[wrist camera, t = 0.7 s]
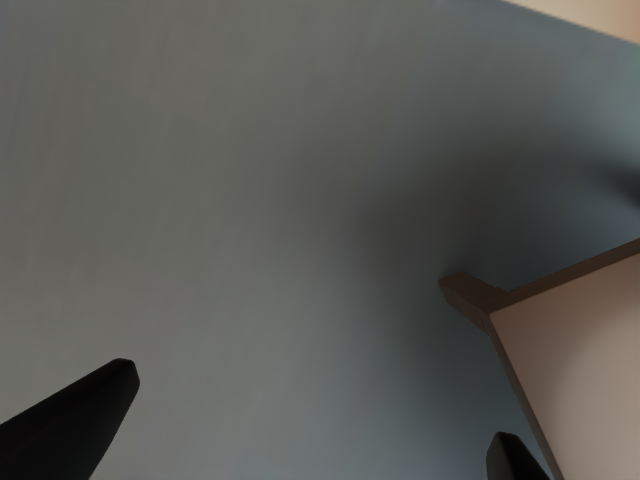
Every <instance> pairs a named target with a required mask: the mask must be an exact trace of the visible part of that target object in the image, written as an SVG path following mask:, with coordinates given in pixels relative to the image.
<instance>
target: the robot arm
mask: <svg viewBox="0 0 640 480" xmlns="http://www.w3.org/2000/svg"><path fill="white" fill-rule="evenodd" d="M139 386H140V380H139V376H138V373H137V370H136V367H135V364H134V362H133V361H132V360H128V359H122V358H117V359H114V360H112V361H111V362H109V363H107V364H105V365H104V366H102V367H100V368H98V369H97V370H95V371H93V372H91V373H90V374H88V375H86V376H84V377H83V378H81V379H79V380H77V381H76V382H74V383H72V384H70V385H69V386H67V387H65V388H63V389H62V390H60V391H58V392H57V393H55V394H53V395H51V396H50V397H48V398H46V399H44V400H43V401H41V402H39V403H37V404H36V405H34V406H32V407H30V408H29V409H27V410H25V411H23V412H22V413H20V414H18V415H16V416H15V417H13V418H11V419H9V420H8V421H6V422H4V423H2V424H1V425H0V480H89V478H90V476H91V475H92V473H93V472H94V470H95V469H96V467H97V465H98V464H99V462H100V461H101V459H102V457H103V456H104V454H105V453H106V451H107V449H108V447H109V446H110V444H111V442H112V440H113V438H114V436H115V434H116V433H117V431H118V429H119V427H120V425H121V423H122V421H123V419H124V417H125V415H126V413H127V411H128V409H129V407H130V405H131V404H132V402H133V400H134V398H135V396H136V394H137V392H138V389H139ZM486 465H487V475H488V480H550V478H549V477H548V476H547V474H546V473H545V471H544V470H543V469H542V467H541V466H540V465H539V463H538V462H537V461H536V459H535V458H534V457H533V455H532V454H531V453H530V451H529V450H528V449H527V447H526V446H525V445H524V443H523V442H522V441H521V439H520V438H519V437H518V436H516V435H514V434H510V433H505V432H497V433H496V434H495V436H494V438H493V440H492V442H491V445H490V447H489V449H488V452H487V456H486Z"/></svg>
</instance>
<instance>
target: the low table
mask: <svg viewBox="0 0 640 480" xmlns="http://www.w3.org/2000/svg"><path fill="white" fill-rule="evenodd" d="M438 283H439V285H440V287H441V289H442V291H443V294H444V296H445V298H446V300H447V302H448V303H449V304H450V305H452V306H453V307H454V308H455V309H456V310H458V311H459V312H460V313H461V314H462V315H464V316H465V317H466V318H467V319H468V320H470V321H471V322H472V323H473V324H474V325H476V326H477V327H478V328H479V329H480V330H482V331H483V332H484V333H485V334H486V335H488V336H489V337H490V340H491V342H492V344H493V346H494V348H495V351H496V353H497V355H498V357H499V359H500V361H501V364H502V366H503V368H504V370H505V372H506V374H507V377H508V379H509V381H510V383H511V385H512V388H513V390H514V392H515V394H516V396H517V398H518V401H519V403H520V405H521V407H522V409H523V411H524V414H525V416H526V418H527V420H528V422H529V425H530V427H531V429H532V431H533V433H534V435H535V438H536V440H537V442H538V444H539V446H540V448H541V451H542V453H543V455H544V457H545V459H546V462H547V464H548V466H549V468H550V470H551V472H552V475H553V477H554V479H555V480H640V238H638V239H636V240H633V241H631V242H628V243H626V244H624V245H621V246H619V247H616V248H614V249H611V250H609V251H607V252H604V253H602V254H599V255H597V256H594V257H592V258H590V259H587V260H585V261H582V262H580V263H578V264H575V265H573V266H570V267H568V268H565V269H563V270H561V271H558V272H556V273H553V274H551V275H548V276H546V277H544V278H541V279H539V280H536V281H534V282H531V283H529V284H527V285H524V286H522V287H519V288H517V289H514V290H512V291H510V292H507V291H505V290H503V289H500V288H498V287H496V286H493V285H491V284H489V283H486V282H484V281H482V280H479V279H477V278H475V277H472V276H470V275H468V274H465V273H463V272H457V273H455V274H452V275H450V276H448V277H445V278H443V279H441V280H439V281H438Z"/></svg>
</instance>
